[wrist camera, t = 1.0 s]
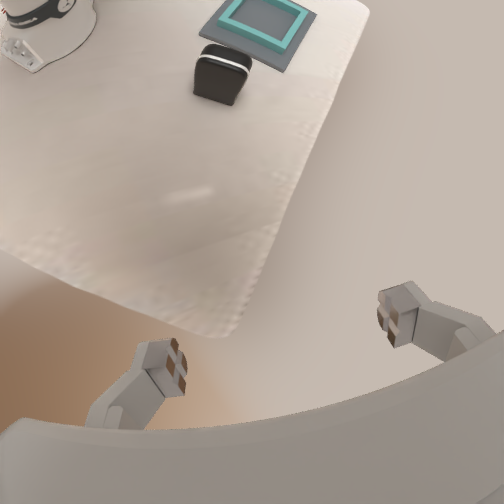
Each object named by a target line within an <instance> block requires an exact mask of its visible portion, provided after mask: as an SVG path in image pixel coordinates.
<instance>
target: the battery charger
mask: <svg viewBox="0 0 504 504" xmlns="http://www.w3.org/2000/svg"><path fill="white" fill-rule="evenodd" d="M251 67H252V59H251V57H250V56H249V55H247V54H245V53H243V52H240V51H237V50H234V49H231V48H228V47H224V46H221V45H217V44H209V45H207V46H206V47H205V48H204V49H203V51H202V53H201V55H200V56H199V57H198V59H197V62H196V67H195V74H194V91H193V93H194V94H196V95H199V96H202V97H205V98H209V99H212V100H215V101H218V102H221V103H224V104H227V105H233V104H234V103H235V100H236V98H237V96H238V94H239V93H240V91H241V90H242V88H243V87H244V85H245V83H246V81H247V78H248V76H249V72H250V69H251Z"/></svg>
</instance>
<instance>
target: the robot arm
mask: <svg viewBox="0 0 504 504" xmlns="http://www.w3.org/2000/svg"><path fill="white" fill-rule="evenodd" d="M0 4H1V5H2V6H3V9H2V11H3V10H4V9H5V11H4V12H3V14H4V13H5V12H6V15H7V21H6V23H5V24H4V26H3V28H2V32H1V36H2V37H3V38H4V39H5V40H4V42H3V44H2V46H1V50H0V52H1V53H2V54H3V55H4V56H6V57H7V58H9V59H11V60H12V61H14V62H15V63H17V64H19V65H20V66H22V67H23V68H25V69H27V70H28V71H30V72H31V73H35V72H37V71H38V70H40V69H41V68H42V67H44V66H45V65H46V64H48V63H50V62H52V61H55V60H58V59H60V58H62V57H64V56H66V55H67V54H69V53H71V52H72V51H73V50H75V49H76V48H77V47H78V46H80V45H81V44H82V43H83V42H84V41H85V40H86V38H87V37H88V36H89V35H90V33H91V32H92V30H93V28H94V26H95V23H96V13H95V11H94V9H93V7H92V6H93V0H0ZM378 301H379V302H380V305H379V307H378V308H377V316H378V322H379V324H380V326H381V328H382V330H384V331H386V332H388V335H387V338H388V340H389V341H390V343H391V344H392V346H393V348H396V347H400V346H402V345H405V344H408V343H411V342H412V343H413V344H414V345H416V346H418V347H420V348H421V349H423V350H425V351H426V352H428V353H430V354H432V355H433V356H435V357H437V358H438V359H440V360H442V361H444V363H442V364H440V365H438V366H436V367H434V368H432V369H429V370H427V371H425V372H422V373H420V374H418V375H415V376H413V377H411V378H408V379H406V380H403V381H401V382H398V383H396V384H393V385H390V386H388V387H385V388H382V389H380V390H377V391H374V392H371V393H368V394H365V395H362V396H359V397H356V398H352V399H349V400H346V401H342V402H339V403H335V404H332V405H328V406H325V407H321V408H317V409H313V410H308V411H305V412H300V413H295V414H291V415H286V416H281V417H276V418H271V419H265V420H259V421H254V422H246V423H239V424H232V425H224V426H214V427H203V428H190V429H170V430H144V428H145V427H146V425H147V424H148V423H149V421H150V420H151V418H152V417H153V416H154V414H155V413H156V411H157V410H158V409H159V407H160V406H161V404H162V403H163V402H164V400H165V398H167V397H177V396H184V394H185V387H186V382H185V380H184V379H183V378H184V377H185V376H186V375H187V361H186V358H185V356H184V354H183V352H181V351H180V350H178V345H179V344H178V343H177V341H176V339H175V338H167V339H159V340H151V341H144V342H140V343H139V344H138V346H137V350H136V353H135V356H134V359H133V362H132V365H131V369H130V371H126V372H125V373H124V374H123V375H122V376H121V377H120V378H119V379H118V380H117V381H116V382H115V383H114V384H112V385H111V386H110V387H109V388H108V389H107V390H106V391H105V392H104V393H103V394H102V395H101V396H100V397H99V398H98V399H97V400H96V401H95V402H94V403H93V404H92V405H91V407H90V410H89V413H88V416H87V420H86V423H85V426H84V427H81V426H73V425H65V424H57V423H51V422H45V421H40V420H35V419H31V418H20V419H19V420H17V421H16V422H14V423H13V424H12V425H10V426H9V427H8V428H7V429H6V430H5V431H3V432H2V433H1V434H0V504H504V330H502V331H501V332H499V333H497V334H496V333H495V332H494V331H493V330H492V328H491V327H490V326H489V325H488V324H487V323H486V322H485V321H484V320H483V318H482V317H479V316H477V315H474V314H471V313H468V312H465V311H462V310H460V309H457V308H454V307H451V306H448V305H445V304H442V303H439V302H436V301H434V302H432V301H431V300H430V299H429V298H428V297H427V296H426V294H425V293H424V292H423V291H422V290H421V289H420V288H419V287H418V286H417V285H416V284H415V283H414V282H413V281H409V282H406V283H403V284H401V285H397V286H394V287H391V288H388V289H385V290H382V291H379V293H378Z"/></svg>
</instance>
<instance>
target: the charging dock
mask: <svg viewBox="0 0 504 504" xmlns="http://www.w3.org/2000/svg"><path fill="white" fill-rule="evenodd" d="M316 16H317V14H316V13H314V12H312V11H310V10H308V9H306V8H304V7H302V6H301V5H299V4H297V3H295V2H293V1H291V0H226V1H225V2H224V3H223V5H222V6H221V7H220V8H219V9H218V10H217V11H216V12H215V14H214V15H213V16H212V17H211V18H210V20H209V21H208V22H207V23H206V24H205V26H204V27H203V28H202V29H201V31H200V32H199V36H202V37H204V38H207V39H210V40H212V41H215V42H217V43H220V44H222V45H225V46H227V47H230V48H232V49H234V50H237V51H240V52H243V53H245V54H247V55H249V56H250V57H252V58H254V59H256V60H258V61H260V62H263V63H265V64H267V65H269V66H271V67H273V68H274V69H276V70H278V71H280V72H282V73H283V72H284V71H285V69H286V67H287V66H288V64H289V62H290V60H291V58H292V57H293V55H294V53H295V51H296V50H297V48H298V46H299V44H300V43H301V41H302V39H303V37H304V36H305V34H306V32H307V31H308V29H309V27H310V26H311V24H312V22H313V21H314V19H315V17H316Z"/></svg>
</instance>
